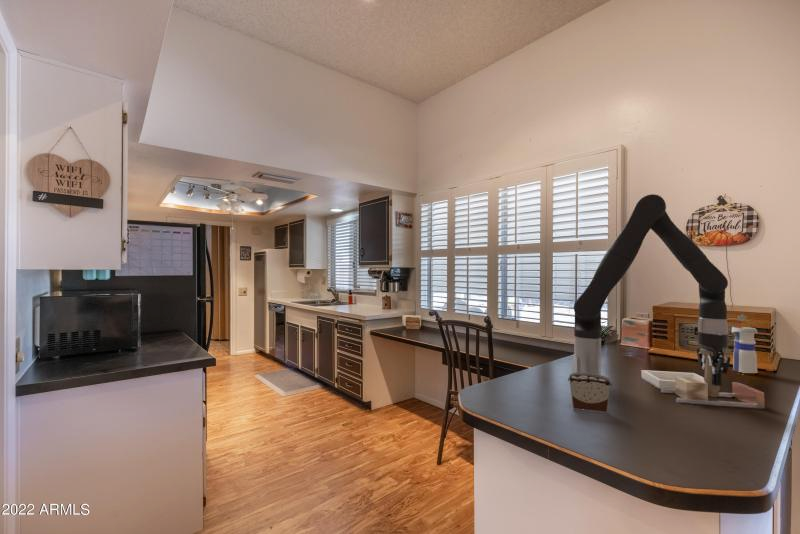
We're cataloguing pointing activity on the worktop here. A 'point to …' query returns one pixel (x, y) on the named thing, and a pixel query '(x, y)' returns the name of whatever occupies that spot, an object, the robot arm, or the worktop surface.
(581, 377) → the food container
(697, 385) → the block
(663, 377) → the tray
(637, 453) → the worktop surface
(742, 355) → the water bottle
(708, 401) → the track
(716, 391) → the handle
